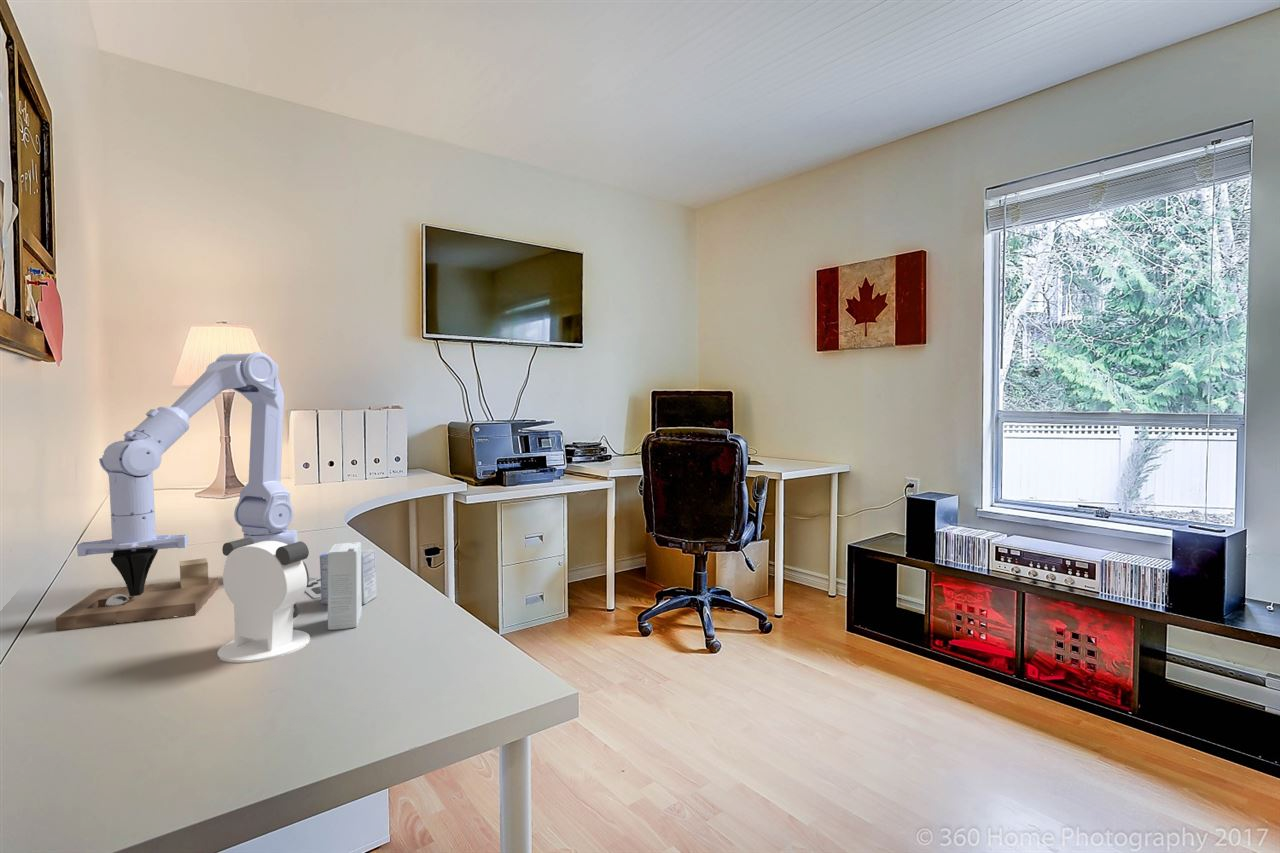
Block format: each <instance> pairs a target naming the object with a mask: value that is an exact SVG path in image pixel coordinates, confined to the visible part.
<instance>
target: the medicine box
mask: <svg viewBox="0 0 1280 853" xmlns="http://www.w3.org/2000/svg"><path fill="white" fill-rule="evenodd" d="M329 551H330V550H329ZM329 551H326V552H324V553H322V554H319V572H320V573H319V574H320V575H319V576H320V579H321V598H320V600H321V601H320V602H321V604H323V605H328V552H329ZM376 568H377V566H376V551H375V549H362V548H361V592H362V605H366V604H368V603H369V602H371V601H373V600H374V599H376V598H377V597H378V591H377V571H376V570H377V569H376Z"/></svg>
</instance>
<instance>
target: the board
mask: <svg viewBox="0 0 1280 853" xmlns="http://www.w3.org/2000/svg"><path fill="white" fill-rule="evenodd" d="M208 582H209V584H208V585H201V586H195V587H188V588H182V589H181V583H180V580H179V581H171V582H160V583H151V584H150V583H149V584H145V586H144V592H143V593H142V594H141V595H138V596H130V595H129V591H128V588H127V586H118V587H108V588H98V589H96V590H95V591H93V592H92V593H90V594H89V595H88V596H86V597H84V598H83V599H82V600H80V601H79V602H77V603H75V604H74V605H72V606H71V607H70V608H68V609H67V610H66V611H64V612H62V613H61V614H59V615H58V616H56V617H55V631H56V632H57V631H58V632H59V631H67V630H76V629H81V628H82V629H84V628H93V626H94V627H101V626H100V625H103V626H108V625H107V624H112V625H115V624H114V623H121V624H125V623H124V622H130V623H134V622H133V621H138V622H145V621H144V620H147V621H154V620H153V619H156V620H162V619H161V618H165V619H170V618H169V617H174V616H182V617H186V616H185V615H191V616H196V615H197V614H198V613H199V612H200V611H201V609H203V607H204V606H205V605H206V603H207V602H208V601H209V600H210V599H211V598H212V597H213V595H214V594H215V593H216V592H217V591H218V589H219V577H214V578H212V577H211V578H208ZM215 591H216V592H215ZM116 594H123V595H126V596H127V597H128V598H129V599H130V601H128V602H127V603H126V604H125V605H118V606H108V607H105V604H106V601H107V600H108V599H109V598H110V597H111V596H113V595H116ZM210 597H211V598H210ZM209 598H210V599H209ZM208 599H209V600H208ZM204 604H205V605H204ZM203 605H204V606H203ZM202 606H203V607H202ZM199 610H200V611H199ZM198 611H199V612H198ZM197 612H198V613H197ZM196 613H197V614H196ZM195 614H196V615H195ZM174 618H175V617H174ZM122 622H123V623H122Z"/></svg>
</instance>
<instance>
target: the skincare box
mask: <svg viewBox="0 0 1280 853" xmlns="http://www.w3.org/2000/svg"><path fill="white" fill-rule="evenodd" d="M361 549H362V542H360V541H357V542H355V541H354V542H344V543H343V542H342V543H335V544H333V545H332V546H331V548H330V549H329V552H328V551H327V552H328V604H327V630H329V631H332V630H333V631H335V630H336V631H337V630H346V629H354V628H357V627H358V624H359V621H360V620H361V617H362V612H363V611H362V610H363V609H362V606H363V604H362V592H361Z"/></svg>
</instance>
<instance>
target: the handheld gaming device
mask: <svg viewBox="0 0 1280 853" xmlns="http://www.w3.org/2000/svg"><path fill="white" fill-rule="evenodd" d="M304 593H306V594H307V595H308V596H310V597H311V598H312V599H314V600H316V599H321V579H320V575H315V576H310V577H309V583H308V586H307V587H306V589H305V592H304Z"/></svg>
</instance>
